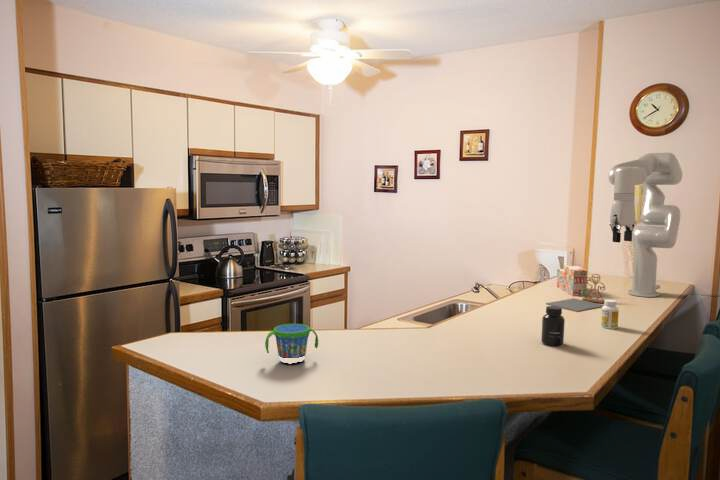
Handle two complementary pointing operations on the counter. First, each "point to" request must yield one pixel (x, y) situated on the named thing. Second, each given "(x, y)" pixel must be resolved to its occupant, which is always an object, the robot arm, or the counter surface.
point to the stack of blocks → (572, 280)
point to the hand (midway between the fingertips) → (622, 241)
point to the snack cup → (291, 340)
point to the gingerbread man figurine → (595, 290)
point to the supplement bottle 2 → (610, 315)
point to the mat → (575, 304)
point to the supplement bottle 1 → (553, 326)
